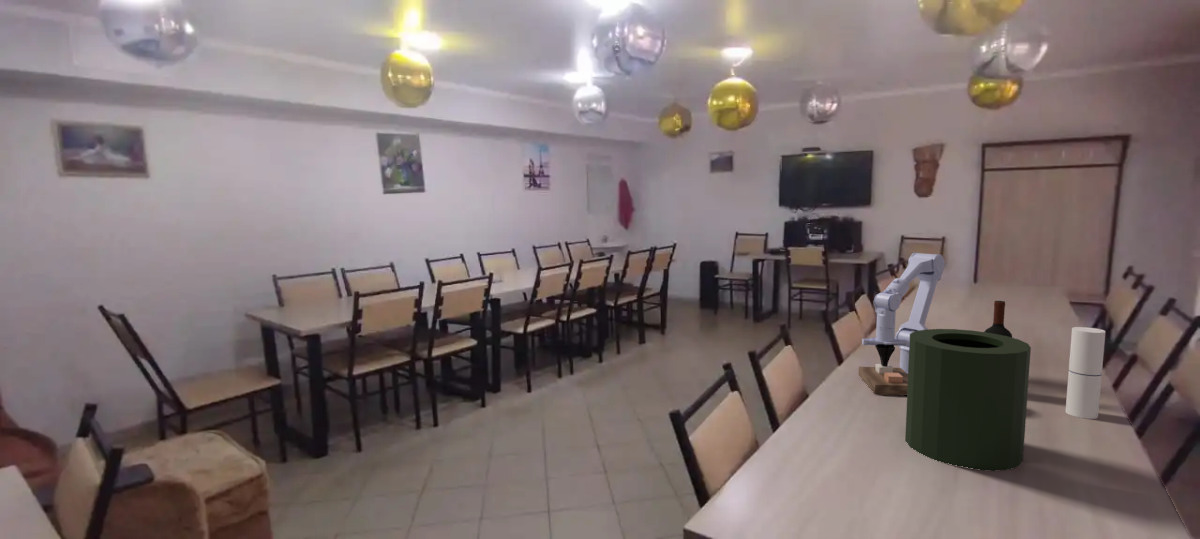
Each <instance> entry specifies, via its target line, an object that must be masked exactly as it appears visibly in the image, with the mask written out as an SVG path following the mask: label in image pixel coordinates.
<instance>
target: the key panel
mask: <svg viewBox="0 0 1200 539" xmlns="http://www.w3.org/2000/svg"><path fill="white" fill-rule="evenodd" d="M893 373H899V374H900V375H902V376H903V383H888V382H887V381H886V380H885V379H884V374H883V373H878V372H877V371H876V370H875V366H858V373H857V374H858V375H859V376H860V377H861V378H862V379H861V378H860V377H859V376H858V377H859V378H860V379H861V381H862V382H863V381H864V382H865V383H866V384H867V385H868V386H867V385H866V384H865V383H864V382H863V383H864V384H865V385H866V386H867V388H868V389H869V388H870V389H871V390H872V391H873V392H872V391H871V390H870V389H869V390H870V391H871V392H872V393H873V395H875V394H881V395H880V396H896V395H907V389H908V374H907V373H906V372H905V371H904V370H903V369H902V368H900V367H893Z"/></svg>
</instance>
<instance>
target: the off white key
mask: <svg viewBox="0 0 1200 539" xmlns="http://www.w3.org/2000/svg"><path fill="white" fill-rule="evenodd" d="M874 367H875V370H876V371H877V372H878V373H883V374H884V372H887V373H893V368H894V367H893V366H892V365H891V364H890V363H888V365H887V366H882V365H881V363H875V366H874Z"/></svg>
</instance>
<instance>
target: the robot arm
mask: <svg viewBox="0 0 1200 539" xmlns="http://www.w3.org/2000/svg"><path fill="white" fill-rule="evenodd" d="M944 259H945V258H944V257H943V255H942V254H940V253H939V254H938V253H937V254H936V253H935V254H934V253H921V252H920V253H919V252H913V253H912V254H911V255H910V256H909V258H908V261H907V262H908V263H907V267H906V268H905V270H904V271H903V273H901V275H900V276H899V278H898V277H897V278H894V279H892V281H891V282H890V283H889V285H888V286H887V287H886V288H885V289H884V290H883V291H882V292H879V293H877V294H875V296H874V300H873V306H874V309H875V310H874V311H875V314H876V326H875V327H876V328H875V330H876V331H875V332H876V333H875V337H873V338H871V337H870V338H869V337H868V338H862V339H861V344H862V346H874V347H875V348H876V350H877V353H878V356H879V358H880V364H881V365H882V366H887V365H888V364H889V361H890V358H891V357H892V354H894V352H895V350H896V347H898V349H899V350H900V351H899V368H902V369H903V370H904V371H905V372H906V373H907V374H908V366H909V343H910V334H911V333H913V332H915V331H920V330H927V329H928V327H927V326H926V325H925V324H926V321H927V318H928V314H929V311H930V307H931V304H932V301H933V297H934V294H935V291H936V288H937V284H938V281H939V280H941V279H942V276H943V272H944V269H945V266H946V263H945V260H944ZM916 278H918V279H919V285H918V289H917V291H916V296H915V299H914V302H913V305H912V309H911V312H910V315H909V317H908V321H906V322H904V323H902V324H900V325H899V328H898V331H896V330H895V329H896V314H897V313H896V312H897V310H899V308H900V305H901V302H902V298H903V297H904V296H905V295H906V294H907V292H908V291H909V290H910V283H912V281H913V280H915V279H916Z"/></svg>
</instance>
